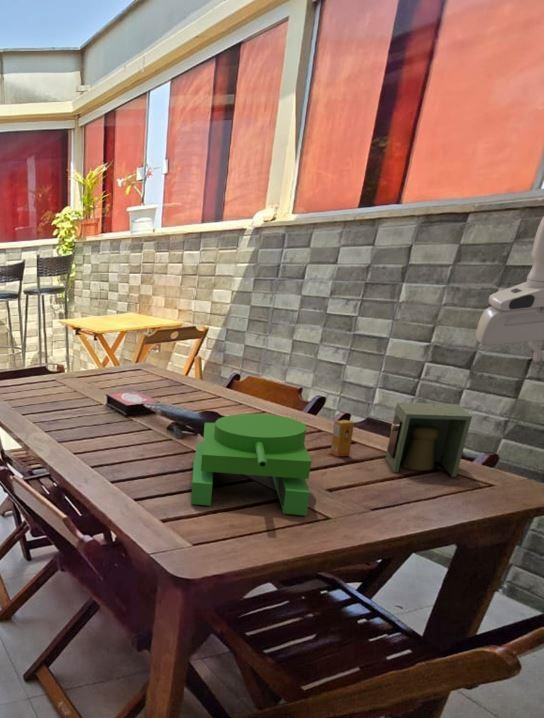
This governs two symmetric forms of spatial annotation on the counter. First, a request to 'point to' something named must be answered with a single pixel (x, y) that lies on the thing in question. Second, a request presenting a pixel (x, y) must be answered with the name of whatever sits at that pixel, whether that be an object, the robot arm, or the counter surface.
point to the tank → (255, 456)
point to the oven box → (441, 416)
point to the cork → (421, 448)
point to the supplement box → (342, 438)
